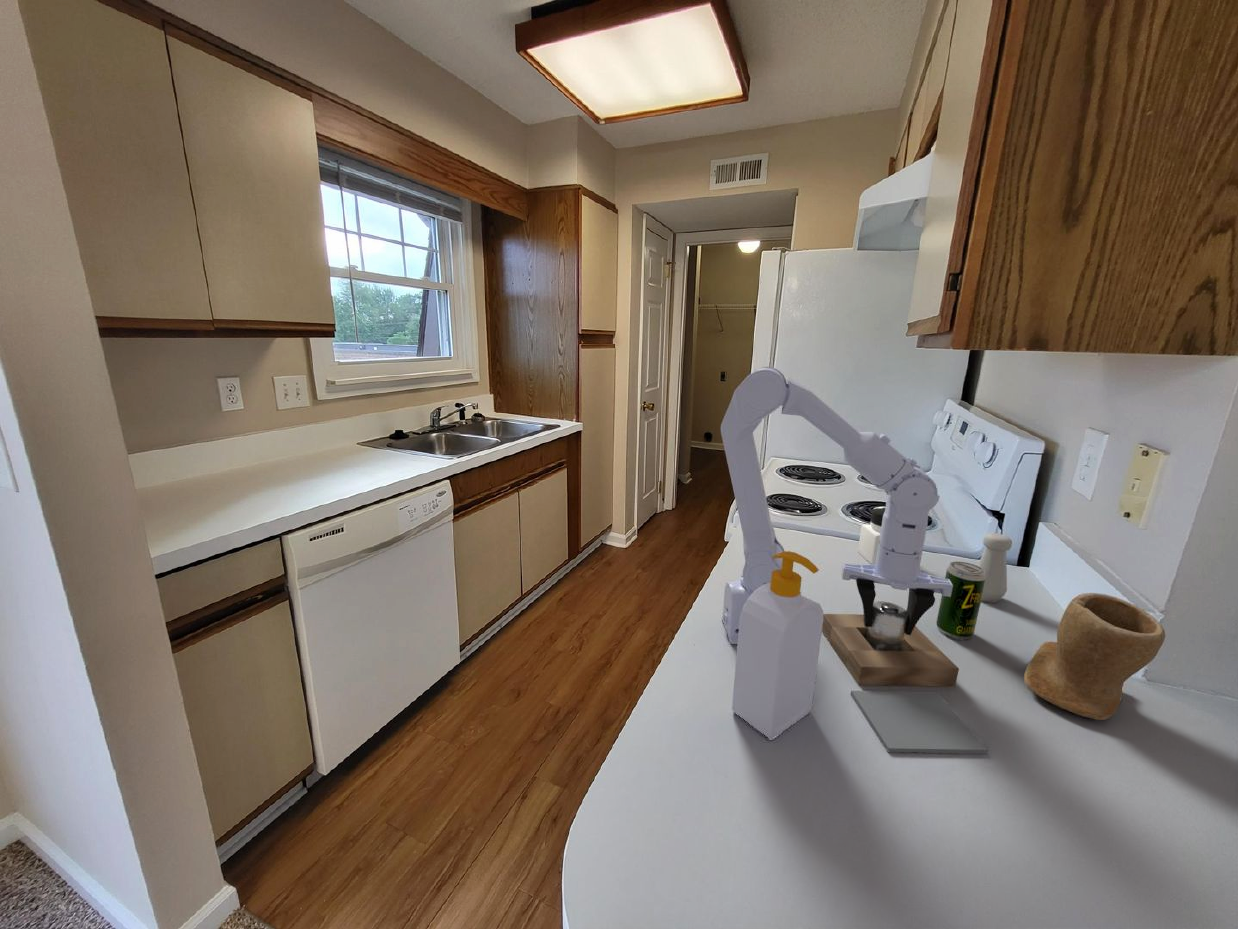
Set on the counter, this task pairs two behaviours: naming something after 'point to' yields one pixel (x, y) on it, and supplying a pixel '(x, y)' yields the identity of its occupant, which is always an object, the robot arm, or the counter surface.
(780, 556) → the soap bottle
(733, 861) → the counter surface
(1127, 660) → the tan boot
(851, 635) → the bore block
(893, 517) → the robot arm
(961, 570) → the green soda can
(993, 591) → the salt shaker
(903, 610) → the grey round-capped cylinder
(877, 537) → the medicine bottle
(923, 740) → the rubber mat
